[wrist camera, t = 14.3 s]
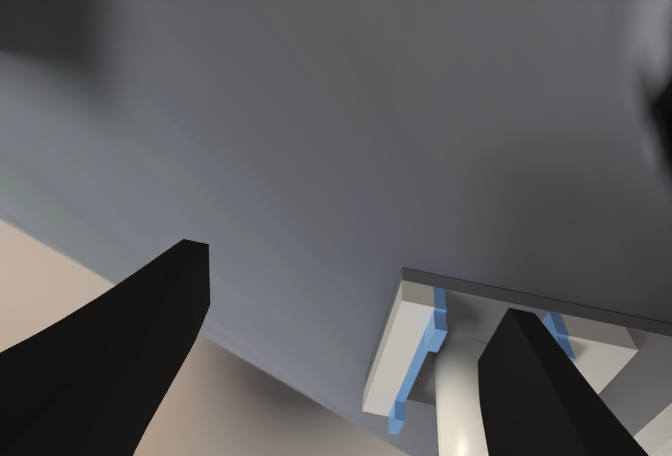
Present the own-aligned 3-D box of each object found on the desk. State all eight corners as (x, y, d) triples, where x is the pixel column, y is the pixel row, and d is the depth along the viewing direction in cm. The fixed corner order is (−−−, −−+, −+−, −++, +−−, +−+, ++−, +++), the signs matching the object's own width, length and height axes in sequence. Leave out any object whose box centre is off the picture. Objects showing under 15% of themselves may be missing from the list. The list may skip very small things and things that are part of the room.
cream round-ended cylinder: (506, 346, 24) (541, 490, 18) (484, 383, 26) (507, 523, 20) (443, 333, 24) (455, 472, 18) (426, 371, 26) (431, 506, 20)
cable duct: (771, 345, 22) (827, 409, 19) (657, 439, 28) (687, 499, 25) (401, 267, 23) (401, 318, 20) (365, 376, 29) (360, 429, 26)
